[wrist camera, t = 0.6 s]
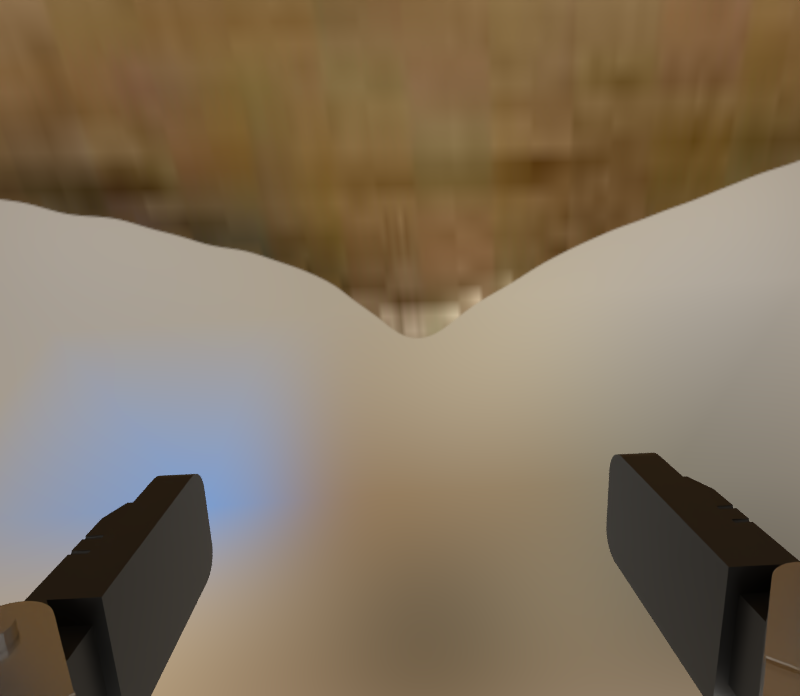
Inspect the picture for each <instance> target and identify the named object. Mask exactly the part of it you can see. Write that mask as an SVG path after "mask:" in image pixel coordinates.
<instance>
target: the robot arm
mask: <svg viewBox="0 0 800 696" xmlns="http://www.w3.org/2000/svg"><path fill="white" fill-rule="evenodd" d="M607 539H608V544H609V548H610V552H611V554H612V557H613V559H614V561H615V563H616V564H617V566H618V567H619V569H620V570H621V571H622V573H623V575H624V576H625V578H626V579H627V581H628V582H629V584H630V585H631V587H632V588H633V590H634V591H635V593H636V595H637V596H638V598H639V599H640V600H641V602H642V603H643V605H644V607H645V608H646V610H647V611H648V613H649V614H650V616H651V617H652V619H653V620H654V622H655V623H656V625H657V626H658V628H659V629H660V631H661V632H662V634H663V635H664V637H665V639H666V640H667V642H668V643H669V645H670V646H671V648H672V649H673V651H674V652H675V654H676V655H677V657H678V658H679V660H680V661H681V663H682V664H683V666H684V667H685V669H686V670H687V672H688V674H689V675H690V677H691V678H692V680H693V681H694V683H695V684H696V686H697V687H698V689H699V690H700V692H701V693H702V695H703V696H800V561H799V560H797V559H796V558H795V557H794V556H792V555H791V554H790V553H789V552H788V551H786V549H784V548H783V547H782V546H781V545H780V544H778V543H777V542H776V541H775V540H774V539H772V538H771V537H770V536H769V535H768V534H766V533H765V532H764V531H763V530H762V529H761V528H759V527H758V526H757V525H756V524H754V523H753V522H749V518H747V517H746V516H745V515H744V514H743V513H741V512H740V511H739V510H738V509H737V508H733V505H732V504H731V503H729V502H728V501H727V500H726V499H725V498H724V497H722V496H721V495H720V494H719V493H718V492H716V491H715V490H714V489H712V488H710V487H708V486H706V485H704V484H702V483H700V482H697V481H695V480H693V479H691V478H689V477H683V476H681V474H679V473H678V472H677V471H676V470H675V469H674V468H673V467H671V466H670V465H669V464H668V463H667V462H666V461H665V460H664V459H662V458H661V457H660V456H659V455H658V454H656V453H639V454H618V455H614V456H613V458H612V460H611V463H610V473H609V491H608V508H607ZM211 566H212V541H211V534H210V526H209V519H208V513H207V505H206V498H205V491H204V485H203V481H202V479H201V477H200V476H199V475H198V474H188V475H187V474H186V475H167V476H166V475H165V476H157V477H156V478H154V480H153V481H152V482H151V483H150V484H149V485H148V486H147V487H146V489H145V490H144V491H143V492H142V493H141V494H140V495H139V497H137V499H136V500H135V501H134V502H133V503H127V504H125V505H123V506H121V507H120V508H118V509H117V510H115V511H113V512H112V513H110V514H109V515H107V516H105V517H104V518H102V519H101V520H100V521H99V522H98V523H97V524H96V525H95V527H94V528H93V529H92V530H91V531H90V532H89V533H88V534H87V535H86V539H84V540H81V541H80V543H79V544H78V545H77V546H76V547H75V548H74V549H73V550H72V553H71V555H67V556H66V557H65V558H64V559H63V561H62V562H61V563H60V564H59V565H58V566H57V567H56V568H55V569H54V570H53V571H52V572H51V573H50V574H49V575H48V577H47V578H46V579H45V580H44V581H43V582H42V583H41V584H40V585H39V586H38V587H37V588H36V589H35V590H34V592H32V593H31V595H30V596H29V597H28V598H27V599H26V600H25V601H23V602H15V603H9V604H5V605H2V606H0V696H151V694H152V692H153V690H154V688H155V686H156V684H157V682H158V680H159V678H160V676H161V674H162V672H163V670H164V668H165V666H166V664H167V662H168V660H169V658H170V656H171V654H172V652H173V650H174V648H175V646H176V644H177V642H178V640H179V638H180V636H181V634H182V631H183V630H184V628H185V626H186V623H187V621H188V619H189V617H190V615H191V613H192V611H193V609H194V607H195V605H196V603H197V601H198V599H199V597H200V595H201V593H202V591H203V589H204V587H205V585H206V583H207V580H208V578H209V575H210V571H211Z"/></svg>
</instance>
